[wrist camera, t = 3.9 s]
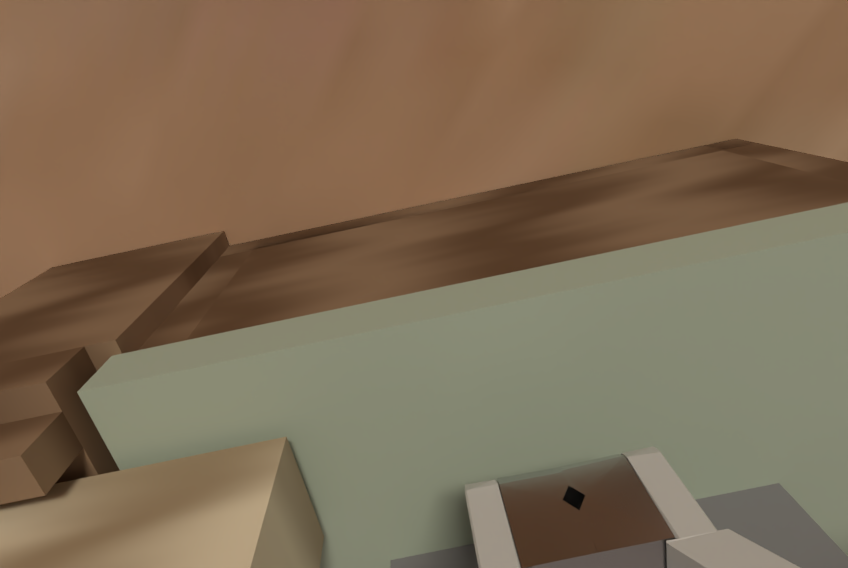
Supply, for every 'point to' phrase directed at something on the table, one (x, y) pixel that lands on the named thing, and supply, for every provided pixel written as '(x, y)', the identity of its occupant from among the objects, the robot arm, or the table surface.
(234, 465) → the beech bolt
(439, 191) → the table surface
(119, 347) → the walnut box
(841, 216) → the lid
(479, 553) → the robot arm
